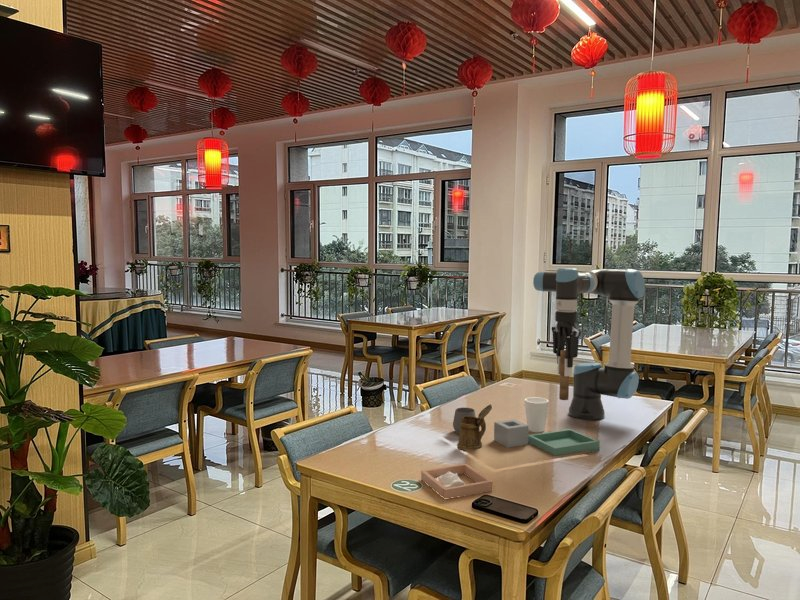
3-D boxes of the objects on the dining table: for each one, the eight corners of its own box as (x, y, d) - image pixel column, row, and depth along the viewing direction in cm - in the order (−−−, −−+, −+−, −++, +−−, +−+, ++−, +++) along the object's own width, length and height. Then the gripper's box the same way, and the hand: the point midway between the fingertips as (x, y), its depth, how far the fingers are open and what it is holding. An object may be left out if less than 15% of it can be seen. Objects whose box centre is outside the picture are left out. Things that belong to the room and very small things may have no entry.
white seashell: (461, 480, 173) (429, 476, 175) (461, 494, 173) (429, 491, 176) (467, 468, 182) (437, 465, 185) (467, 482, 183) (437, 478, 185)
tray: (570, 437, 225) (570, 428, 225) (599, 450, 211) (599, 441, 210) (527, 444, 217) (527, 435, 217) (554, 458, 203) (554, 448, 202)
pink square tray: (465, 471, 190) (465, 463, 190) (492, 490, 175) (493, 481, 175) (420, 479, 184) (420, 470, 183) (444, 500, 169) (444, 490, 168)
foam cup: (548, 436, 227) (549, 403, 225) (524, 434, 228) (524, 402, 227) (547, 429, 236) (548, 397, 235) (524, 427, 238) (524, 396, 237)
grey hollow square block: (514, 439, 223) (514, 419, 222) (528, 446, 214) (528, 425, 214) (494, 442, 219) (494, 421, 219) (507, 450, 211) (507, 428, 210)
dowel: (564, 397, 214) (565, 349, 213) (570, 399, 212) (571, 350, 210) (557, 398, 213) (558, 350, 212) (563, 400, 210) (564, 351, 209)
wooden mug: (483, 457, 204) (483, 406, 202) (452, 448, 213) (452, 400, 212) (497, 450, 211) (497, 401, 209) (466, 442, 220) (467, 395, 218)
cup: (452, 431, 233) (452, 406, 233) (475, 431, 233) (475, 406, 232) (453, 438, 224) (453, 413, 223) (477, 438, 224) (478, 413, 223)
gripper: (543, 309, 216) (542, 371, 218) (572, 313, 201) (571, 380, 203) (560, 308, 219) (558, 369, 220) (589, 312, 204) (588, 378, 206)
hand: (564, 374), depth 212 cm, fingers closed on dowel, 3 cm apart
